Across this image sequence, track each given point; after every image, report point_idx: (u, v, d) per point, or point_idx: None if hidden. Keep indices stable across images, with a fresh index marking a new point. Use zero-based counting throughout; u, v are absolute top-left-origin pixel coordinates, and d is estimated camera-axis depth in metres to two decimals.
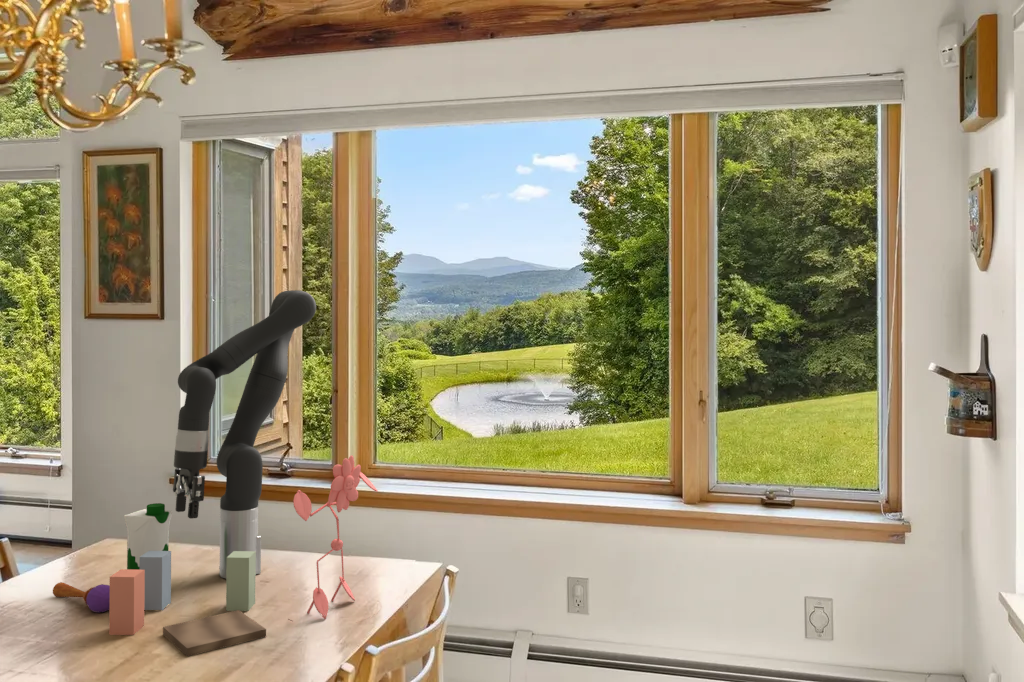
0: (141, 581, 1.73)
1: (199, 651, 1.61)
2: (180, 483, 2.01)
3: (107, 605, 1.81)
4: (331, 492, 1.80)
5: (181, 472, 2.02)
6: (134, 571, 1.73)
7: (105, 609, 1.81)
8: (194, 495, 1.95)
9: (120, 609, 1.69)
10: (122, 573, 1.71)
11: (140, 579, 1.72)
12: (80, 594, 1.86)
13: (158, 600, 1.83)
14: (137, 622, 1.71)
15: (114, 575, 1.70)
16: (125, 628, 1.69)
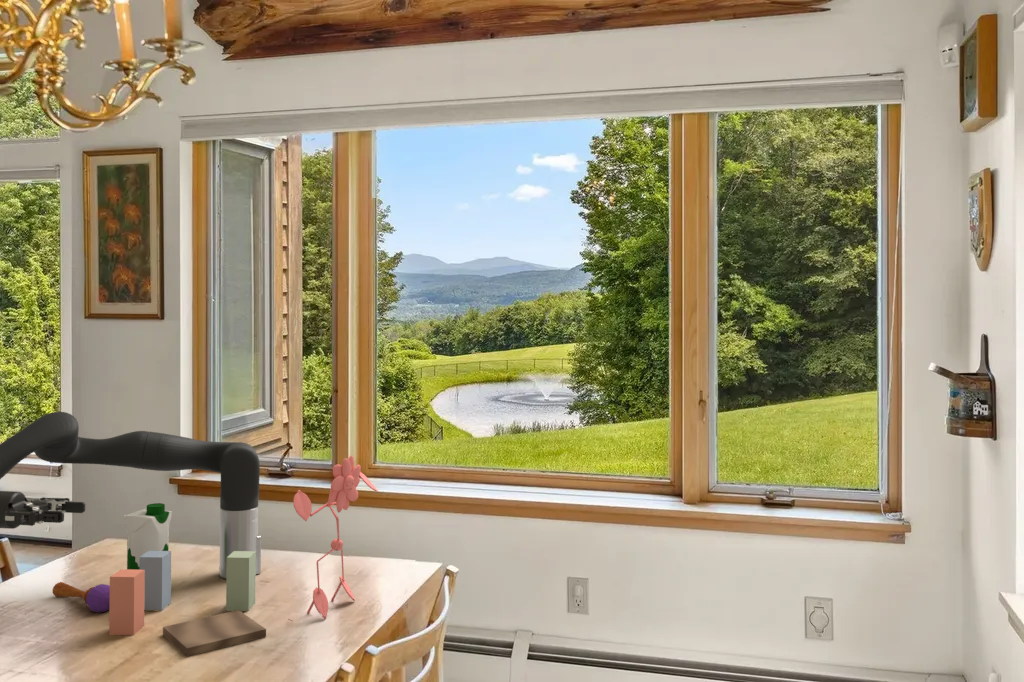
0: (141, 581, 1.73)
1: (199, 651, 1.61)
2: None
3: (107, 605, 1.81)
4: (331, 492, 1.80)
5: None
6: (134, 571, 1.73)
7: (105, 609, 1.81)
8: (25, 524, 1.64)
9: (120, 608, 1.69)
10: (122, 573, 1.71)
11: (140, 579, 1.72)
12: (80, 594, 1.86)
13: (158, 600, 1.83)
14: (137, 622, 1.71)
15: (114, 575, 1.70)
16: (125, 628, 1.69)
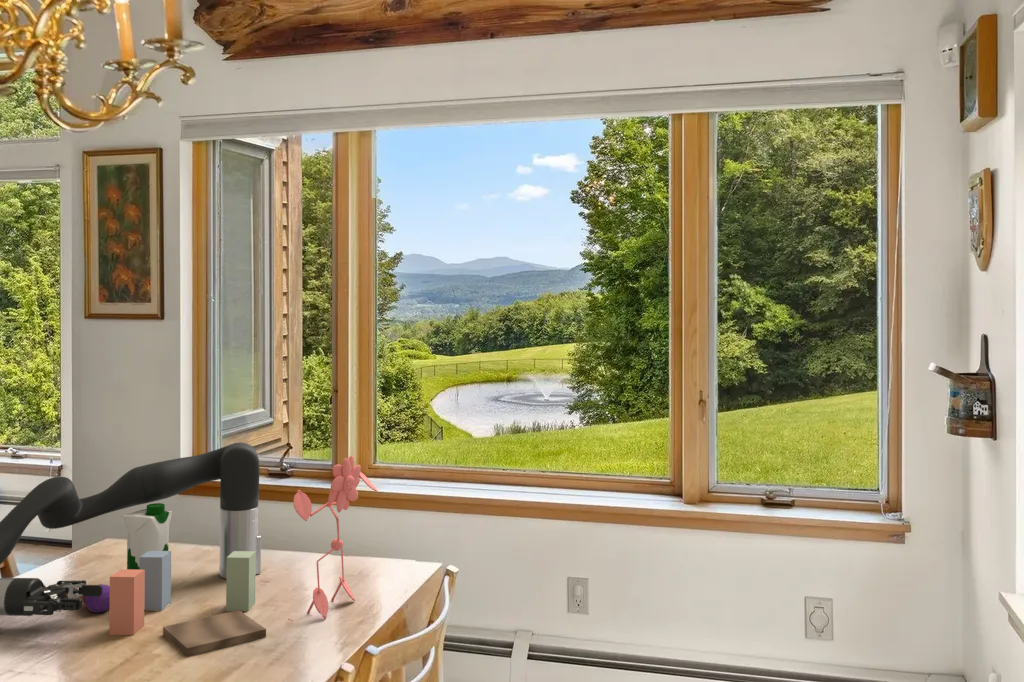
0: (141, 581, 1.73)
1: (199, 651, 1.61)
2: None
3: (105, 605, 1.81)
4: (331, 492, 1.80)
5: None
6: (134, 571, 1.73)
7: (103, 609, 1.81)
8: (44, 614, 1.64)
9: (120, 608, 1.69)
10: (122, 573, 1.71)
11: (140, 579, 1.72)
12: None
13: (158, 600, 1.83)
14: (137, 622, 1.71)
15: (114, 575, 1.70)
16: (125, 628, 1.69)
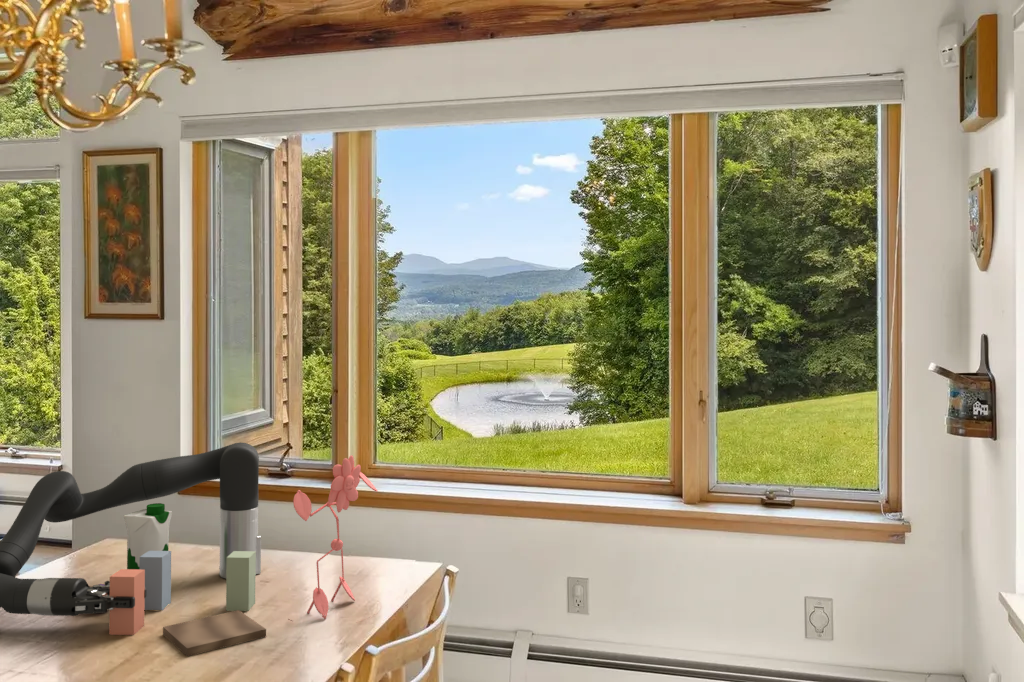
0: (141, 581, 1.73)
1: (199, 651, 1.61)
2: None
3: None
4: (331, 492, 1.80)
5: None
6: (134, 571, 1.73)
7: None
8: (99, 612, 1.66)
9: (120, 608, 1.69)
10: (122, 573, 1.71)
11: (140, 579, 1.72)
12: None
13: (158, 600, 1.83)
14: (137, 622, 1.71)
15: (114, 575, 1.70)
16: (125, 628, 1.69)
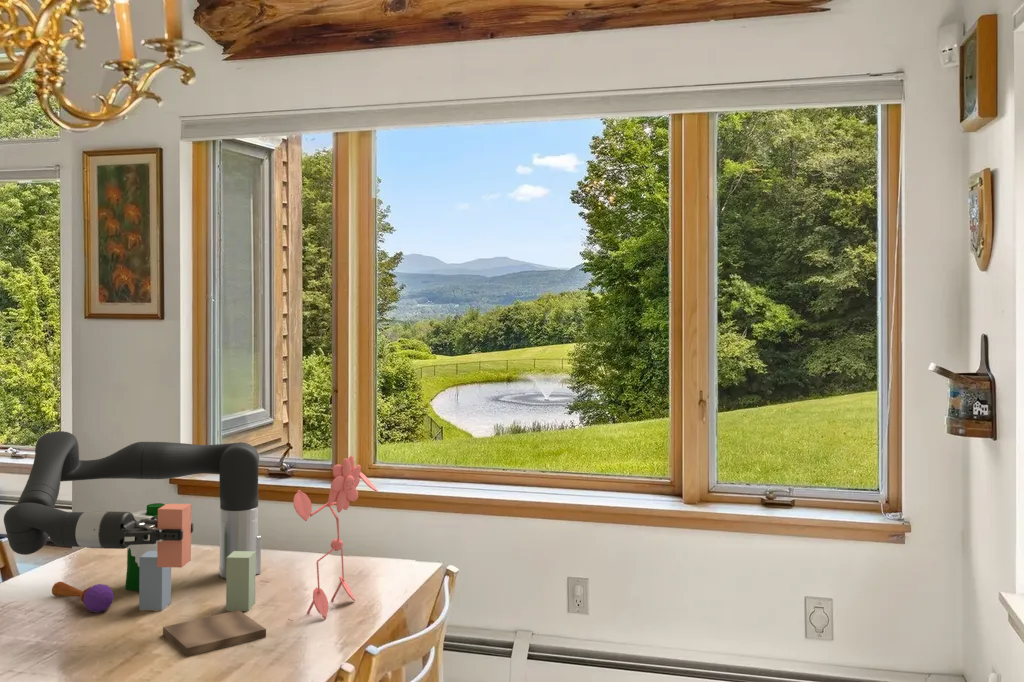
0: (188, 515, 1.72)
1: (199, 651, 1.61)
2: None
3: (104, 605, 1.81)
4: (331, 492, 1.80)
5: None
6: (181, 505, 1.73)
7: (102, 609, 1.81)
8: (148, 543, 1.66)
9: (168, 541, 1.69)
10: (169, 506, 1.71)
11: (187, 513, 1.72)
12: (78, 594, 1.86)
13: (158, 600, 1.83)
14: (184, 555, 1.71)
15: (162, 508, 1.70)
16: (173, 561, 1.69)
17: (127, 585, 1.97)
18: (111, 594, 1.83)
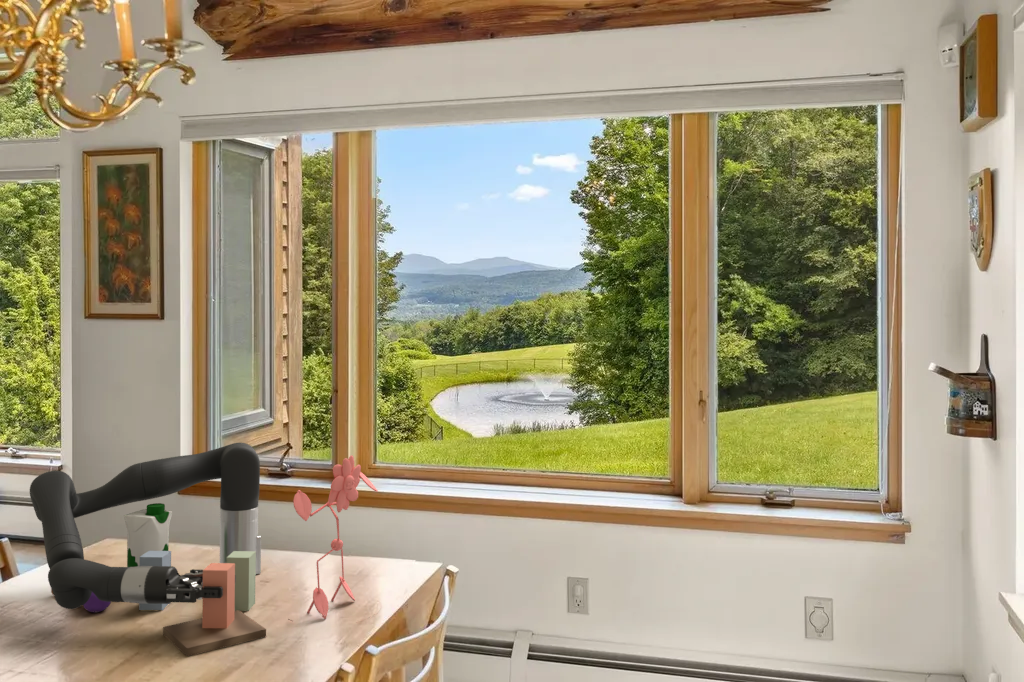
0: (232, 575, 1.73)
1: (199, 651, 1.61)
2: None
3: (102, 605, 1.81)
4: (331, 492, 1.80)
5: None
6: (225, 565, 1.73)
7: (100, 609, 1.81)
8: (187, 601, 1.65)
9: (213, 602, 1.69)
10: (214, 567, 1.71)
11: (231, 573, 1.72)
12: None
13: None
14: (229, 615, 1.71)
15: (207, 569, 1.70)
16: (218, 622, 1.70)
17: None
18: None
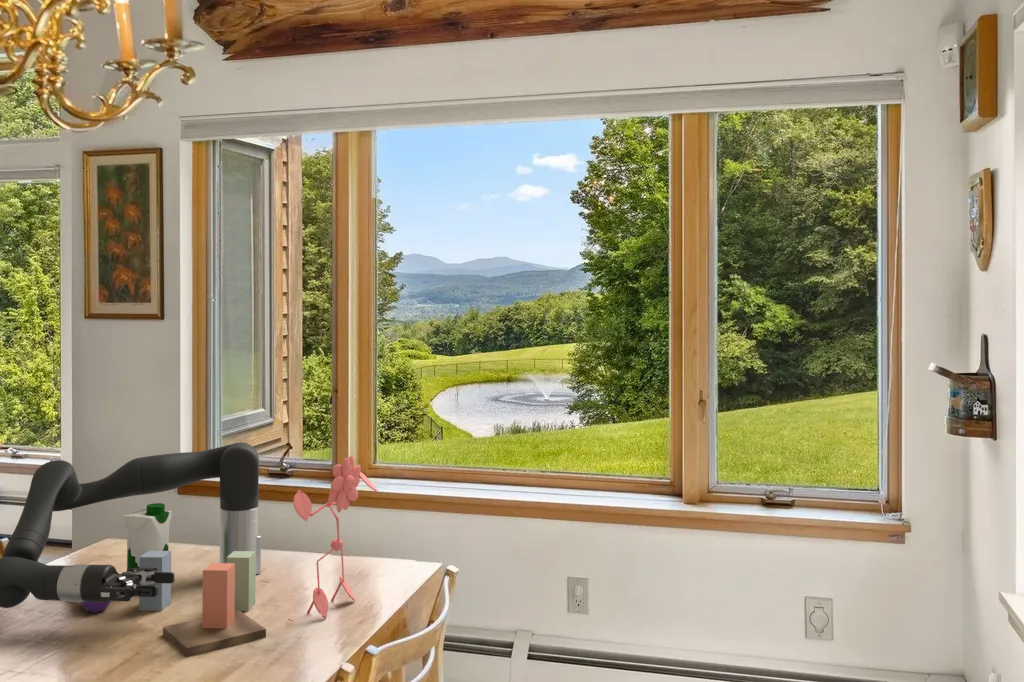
0: (232, 575, 1.73)
1: (199, 651, 1.61)
2: None
3: (101, 605, 1.81)
4: (331, 492, 1.80)
5: None
6: (225, 565, 1.73)
7: (99, 609, 1.81)
8: (121, 600, 1.65)
9: (213, 602, 1.69)
10: (214, 567, 1.71)
11: (231, 573, 1.72)
12: None
13: (158, 600, 1.83)
14: (229, 615, 1.71)
15: (207, 569, 1.70)
16: (218, 622, 1.70)
17: None
18: None
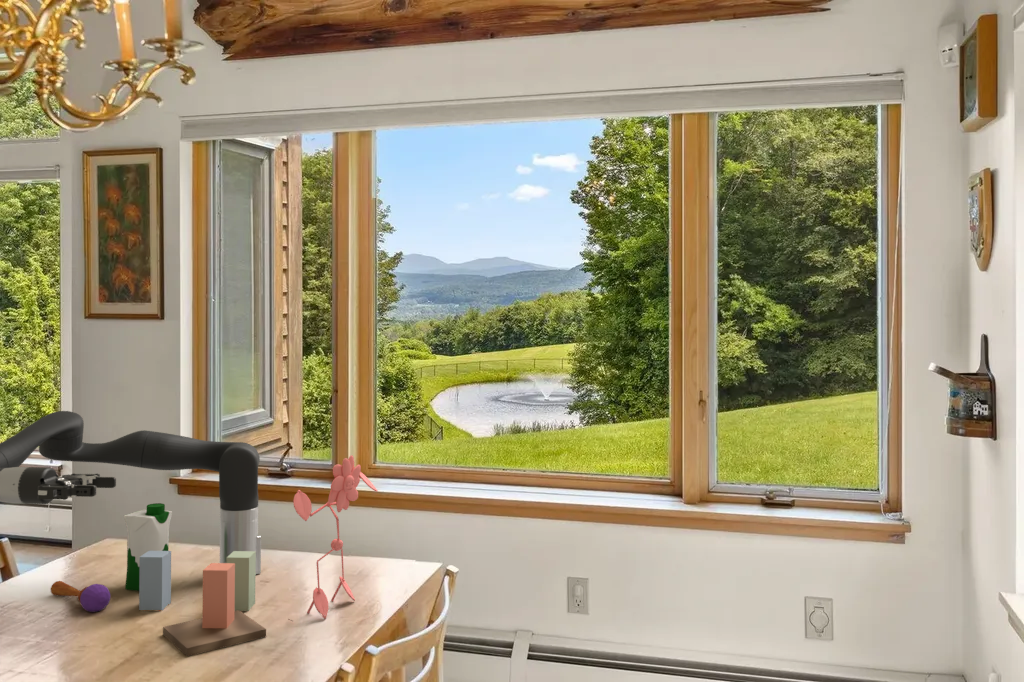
0: (232, 575, 1.73)
1: (199, 651, 1.61)
2: None
3: (100, 605, 1.81)
4: (331, 492, 1.80)
5: None
6: (225, 565, 1.73)
7: (98, 609, 1.81)
8: (58, 498, 1.64)
9: (213, 602, 1.69)
10: (214, 567, 1.71)
11: (231, 573, 1.72)
12: (76, 593, 1.87)
13: (158, 600, 1.83)
14: (229, 615, 1.71)
15: (207, 569, 1.70)
16: (218, 622, 1.70)
17: (127, 585, 1.97)
18: (108, 594, 1.83)
